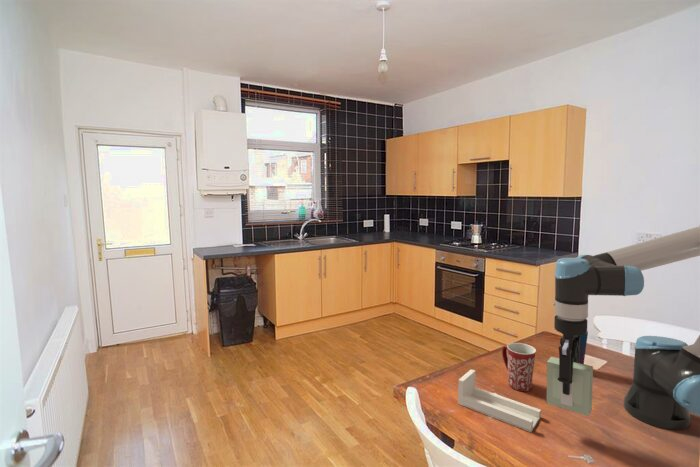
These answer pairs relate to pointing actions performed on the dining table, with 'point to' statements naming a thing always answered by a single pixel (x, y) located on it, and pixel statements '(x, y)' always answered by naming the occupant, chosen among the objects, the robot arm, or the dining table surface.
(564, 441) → the dining table surface
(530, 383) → the mug
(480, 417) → the dining table surface
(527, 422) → the track
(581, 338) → the cup
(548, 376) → the door panel
